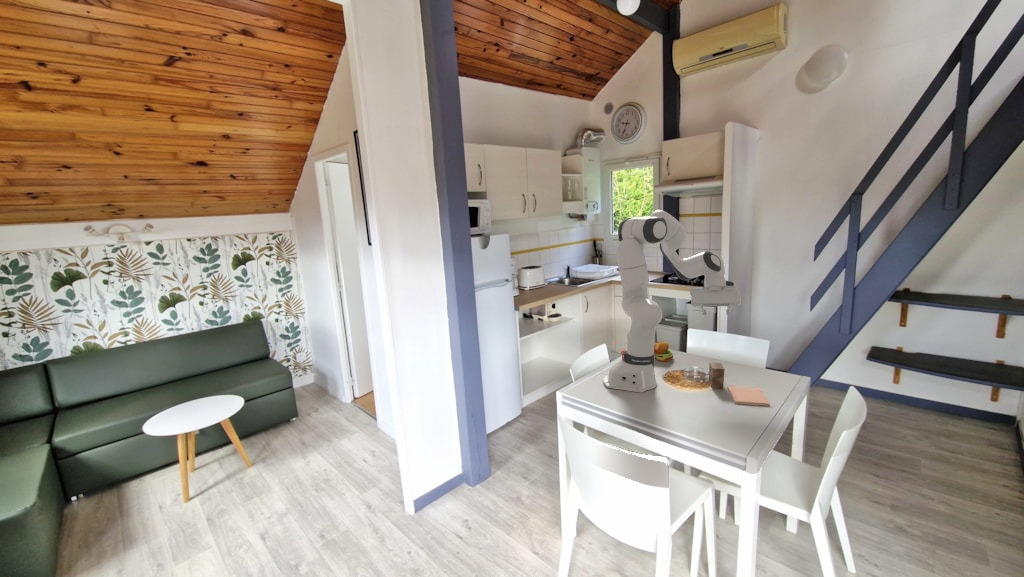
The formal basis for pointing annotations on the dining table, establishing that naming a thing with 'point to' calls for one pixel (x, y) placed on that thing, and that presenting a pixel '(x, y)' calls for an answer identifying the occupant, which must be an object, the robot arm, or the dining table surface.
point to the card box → (716, 375)
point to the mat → (747, 395)
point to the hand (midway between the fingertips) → (716, 314)
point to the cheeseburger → (662, 352)
